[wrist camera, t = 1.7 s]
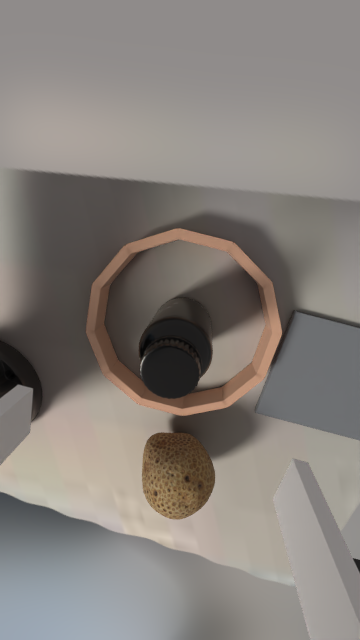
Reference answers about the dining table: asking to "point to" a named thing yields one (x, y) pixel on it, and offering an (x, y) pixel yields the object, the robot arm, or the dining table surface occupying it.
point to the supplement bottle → (176, 348)
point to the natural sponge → (176, 474)
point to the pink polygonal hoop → (196, 400)
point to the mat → (316, 376)
